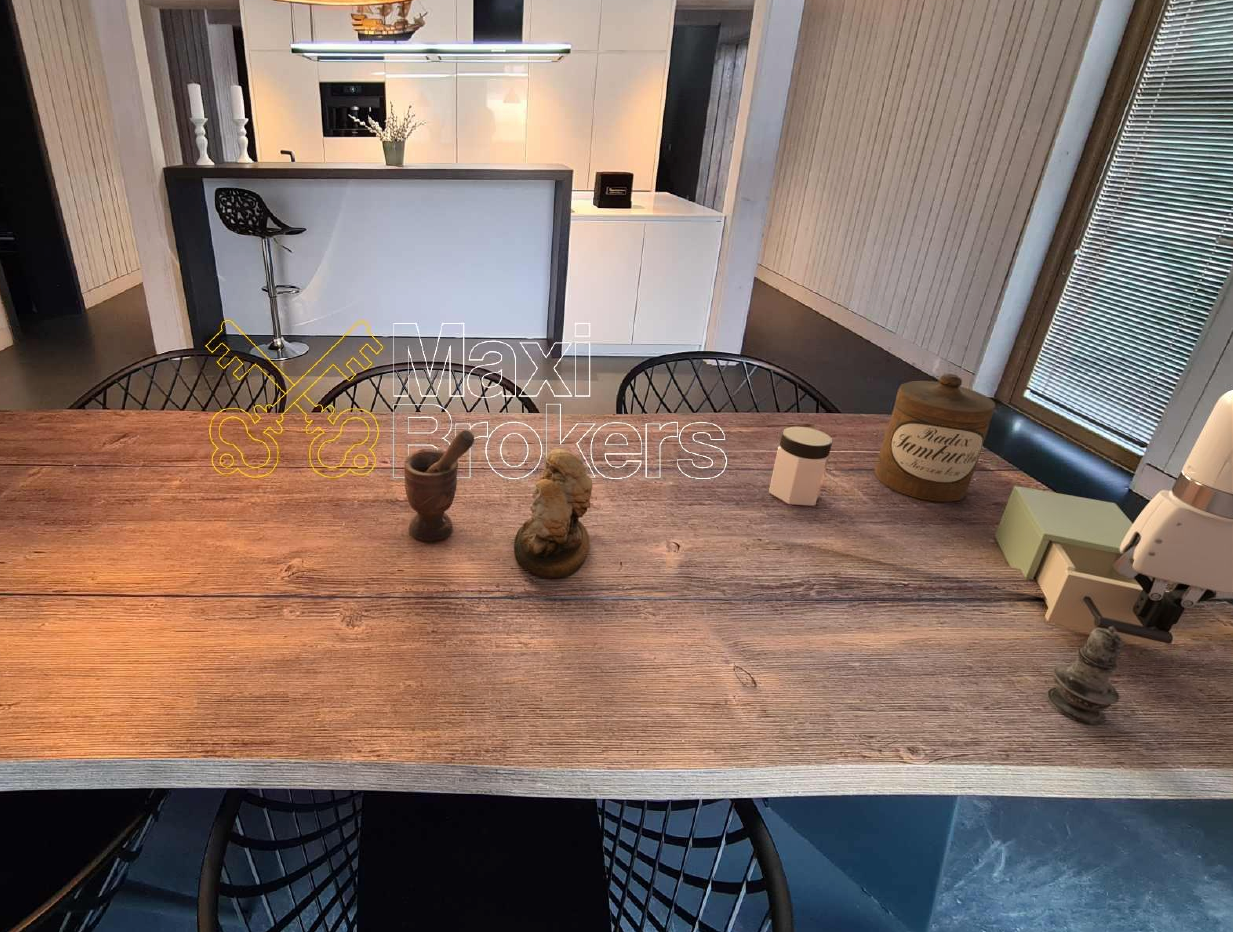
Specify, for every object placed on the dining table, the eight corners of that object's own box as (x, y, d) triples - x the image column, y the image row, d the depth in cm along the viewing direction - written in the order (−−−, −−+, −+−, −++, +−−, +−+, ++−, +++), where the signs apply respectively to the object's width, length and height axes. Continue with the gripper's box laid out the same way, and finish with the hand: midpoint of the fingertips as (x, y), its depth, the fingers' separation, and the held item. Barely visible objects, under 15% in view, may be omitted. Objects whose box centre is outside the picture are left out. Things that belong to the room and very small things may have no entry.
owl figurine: (523, 511, 117) (528, 423, 110) (591, 520, 114) (600, 430, 107) (506, 573, 100) (510, 475, 94) (584, 586, 98) (594, 485, 91)
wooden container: (880, 492, 123) (912, 382, 115) (869, 458, 136) (898, 356, 127) (975, 510, 118) (1016, 396, 110) (955, 472, 131) (991, 367, 122)
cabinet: (1131, 613, 94) (1161, 556, 90) (1021, 589, 98) (1044, 533, 94) (1091, 555, 106) (1115, 503, 102) (994, 536, 111) (1014, 485, 107)
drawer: (1179, 678, 81) (1208, 628, 78) (1061, 649, 86) (1084, 600, 83) (1114, 585, 98) (1135, 540, 95) (1017, 565, 102) (1035, 521, 99)
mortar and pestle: (479, 521, 114) (481, 414, 106) (470, 550, 106) (472, 438, 98) (413, 513, 115) (410, 408, 108) (400, 542, 108) (396, 431, 100)
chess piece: (1100, 699, 80) (1141, 620, 75) (1113, 735, 75) (1157, 653, 70) (1038, 679, 82) (1073, 602, 78) (1047, 712, 78) (1085, 632, 73)
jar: (810, 484, 126) (824, 427, 121) (827, 507, 119) (843, 447, 114) (761, 481, 127) (773, 424, 122) (775, 504, 119) (789, 444, 115)
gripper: (1290, 497, 76) (1214, 622, 83) (1121, 467, 82) (1063, 587, 89) (1336, 530, 70) (1249, 663, 77) (1148, 496, 75) (1084, 623, 83)
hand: (1150, 622), depth 83 cm, fingers closed
